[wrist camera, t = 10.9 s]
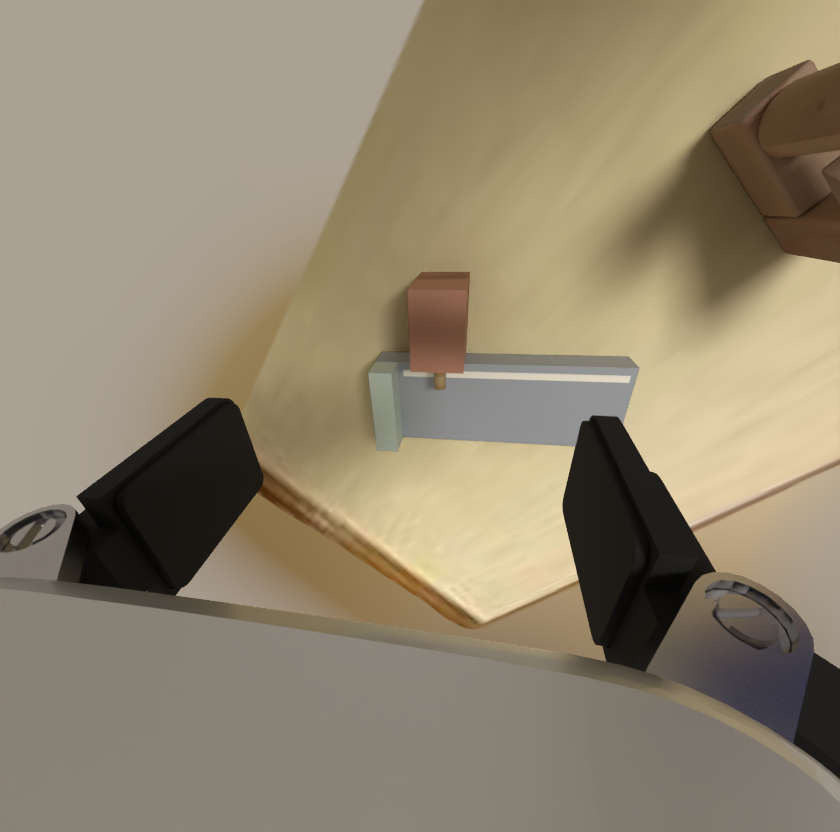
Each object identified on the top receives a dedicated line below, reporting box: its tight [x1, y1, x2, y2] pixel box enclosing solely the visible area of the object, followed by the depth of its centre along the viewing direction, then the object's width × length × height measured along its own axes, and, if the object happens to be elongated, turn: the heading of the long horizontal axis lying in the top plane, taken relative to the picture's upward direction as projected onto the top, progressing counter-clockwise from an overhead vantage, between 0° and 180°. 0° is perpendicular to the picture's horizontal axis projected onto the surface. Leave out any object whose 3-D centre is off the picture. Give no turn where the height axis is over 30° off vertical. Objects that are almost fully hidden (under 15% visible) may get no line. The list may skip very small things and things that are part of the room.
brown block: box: [407, 272, 470, 390], centre depth 29 cm, size 8×4×7 cm, turn 1°
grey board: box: [368, 352, 639, 452], centre depth 33 cm, size 8×22×5 cm, turn 92°
